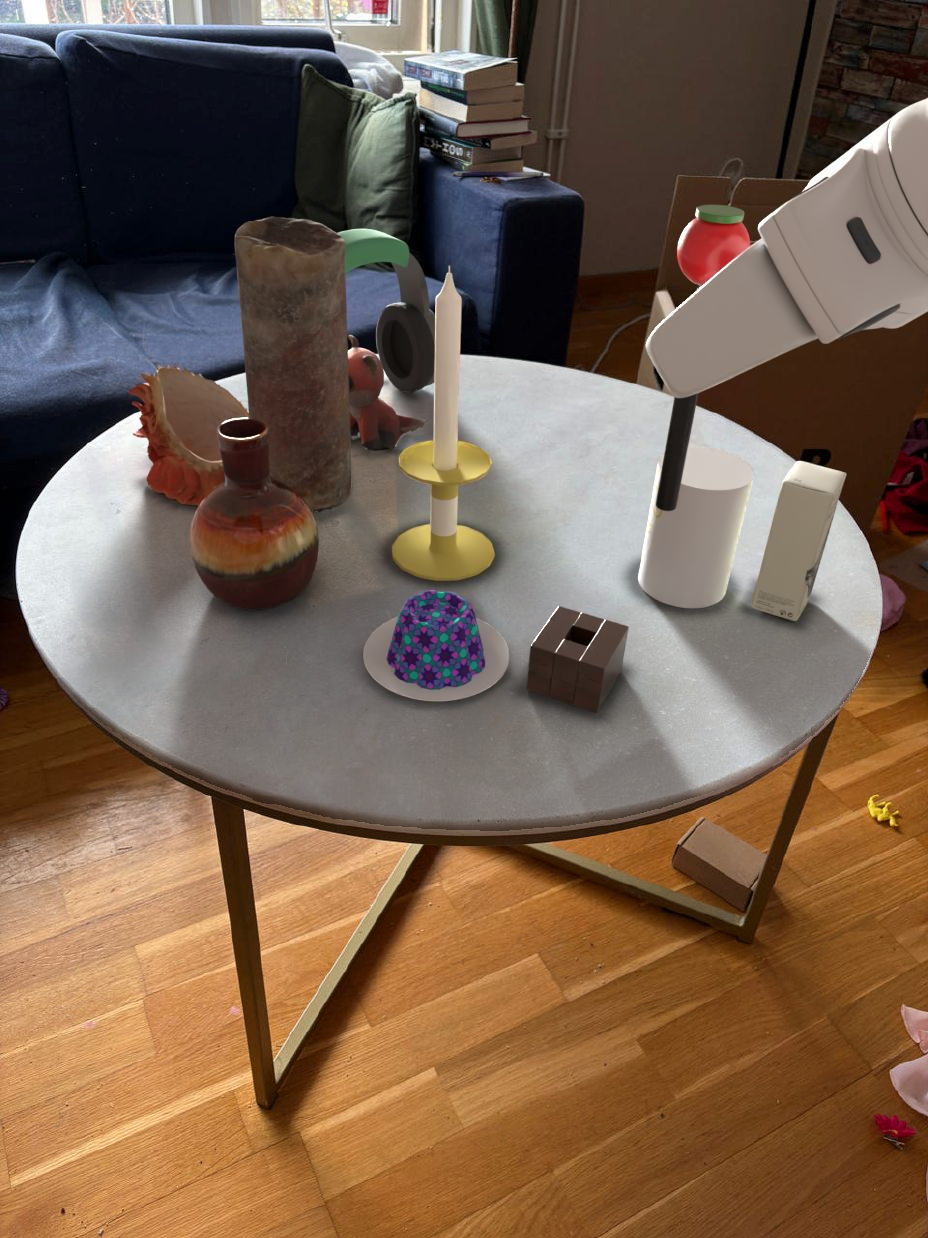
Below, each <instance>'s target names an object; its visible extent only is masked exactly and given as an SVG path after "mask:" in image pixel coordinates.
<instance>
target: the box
mask: <svg viewBox="0 0 928 1238" xmlns="http://www.w3.org/2000/svg"><path fill="white" fill-rule="evenodd" d="M846 477H847V473H846V472H843V471H841V470H836V469H833V468H829V467H825V466H822V465H818V464H814V463H811V462H807V461H803V460H797V461H796V462H795V463H794V464H793V466H792V467H791V468H790V470H789V471H788V473H787V474H786V476H785V477H784V479H783V481H782V482H781V486H780V491H779V494H778V497H777V501H776V505H775V509H774V513H773V517H772V520H771V525H770V530H769V533H768V536H767V541H766V545H765V549H764V553H763V557H762V559H761V560H762V561H761V565H760V569H759V571H758V576H757V580H756V585H755V588H754V592H753V594H752V595H753V596H752V599H751V602H750V608H752V609H754V610H758V611H760V612H763V613H767V614H769V615H773V616H776V617H779V618H782V619H786V620H789V621H792V622H797V621H798V620H799V618H800V617H801V616H802V613H803V612H804V610H805V608H806V607H807V604H808V602H809V601H810V598H811V595H812V592H813V588H814V585H815V581H816V578H817V574H818V572H819V569H820V565H821V561H822V558H823V555H824V551H825V548H826V544H827V541H828V537H829V534H830V531H831V527H832V524H833V520H834V517H835V514H836V509H837V507H838V502H839V500H840V497H841V493H842V489H843V487H844V483H845V480H846Z"/></svg>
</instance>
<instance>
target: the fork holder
mask: <svg viewBox="0 0 928 1238" xmlns="http://www.w3.org/2000/svg"><path fill="white" fill-rule="evenodd" d="M629 629H630V626H629V625H625V624H622V623H619V622H615V621H612V620H608V619H605V618H602V617H598V616H595V615H592V614H588V613H585V612H580V611H578V610H575V609H572V608H567V607H564V606H561V605H557V608H556V609H555V610H554V612H553V613H552V615H551V616H550V617H549V618H548V620H547V621H546V623H545V625H543V627H542V629H541V630H540V632H539V633H538V634H537V636H536V637H535V639H534V640H533V641H532V643H531V644H530V647H529V658H528V669H527V677H526V678H527V679H526V680H527V681H526V690H527V691H529V692H533V693H536V694H539V695H542V696H544V697H548V698H551V699H553V700H556V701H560V702H562V703H565V704H568V705H572V706H574V707H578V708H579V709H580V708H581V709H583V710H586V711H590V712H593V713H594V714H598V713H599V711H600V709H601V708H602V706H603V704H604V702H605V700H606V699H607V697H608V695H609V694H610V691H611V690H612V688H613V686H614V684H615V682H616V681H617V678H618V677H619V675H620V673H621V671H622V668H623V663H624V657H625V651H626V646H627V639H628V633H629Z"/></svg>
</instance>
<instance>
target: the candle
mask: <svg viewBox="0 0 928 1238" xmlns="http://www.w3.org/2000/svg"><path fill="white" fill-rule="evenodd" d="M444 279H445V280H444V282H443V285H442V288H441V290H440V292H439V293H438V294H437V295H436V296H435V315H436V316H435V383H434V385H433V387H434V389H433V390H434V391H433V392H434V394H433V395H434V397H433V398H434V399H433V439H430V440H425V441H421V442H417V443H414V444H411V445H410V446H408V447H406V448H404V449H403V451H402V452H401V453H400V454H399V456H398V466H399V467H398V468H399V470H400V471H401V472H402V473H403V474H404V475H405V476H407V477H408V478H409V479H411V480H414V481H416V482H420V483H422V484H426V485H430V523H427V524H423V525H420V526H416V527H415V526H414V527H411V528H410V529H408V530H406V531H405V532H403V533H401V534H400V535H398V536H397V538H396V539H395V541H394V543H393V544H392V546H391V555H392V556H391V557H392V561H393V562H394V563H395V564H396V565H397V566H398V567H399V568H400V570H402V571H404V572H405V573H407V574H410V575H412V576H414V577H416V578H420V579H425V580H429V581H434V582H450V581H454V582H455V581H461V580H465V579H467V578H468V579H469V578H471V577H476V576H478V575H480V574H481V573H483V572H484V571H485V570H487V569H488V568H490V566H491V564H492V562H493V560H494V558H495V556H496V554H495V553H496V552H495V550H494V546H493V543H492V542H491V540H490V539H489V538H488V537H486V536H485V535H484V534H483V533H482V532H480V531H478V530H475V529H474V528H471V527H468V526H465V525H460V524H458V506H459V505H458V503H459V499H458V498H459V486H462V485H467V484H472V483H475V482H477V481H479V480H481V479H482V478H484V477H486V476H487V475H488V473H489V472H490V469H491V468H492V466H493V462H492V459H491V456H490V454H489V453H488V452H487V451H485V449H483V448H482V447H480V446H477V445H475V444H472V443H469V442H467V441H461V440H458V437H459V435H458V434H459V404H460V403H459V402H460V400H459V398H460V370H461V368H460V367H461V337H462V336H461V334H462V307H463V305H462V303H463V300H462V299H463V298H462V296H461V295H460V294H459V293H458V291H457V289H456V286H455V282H454V277H453V273H452V272H451V265H448V272H447V273H446V275H445V278H444Z"/></svg>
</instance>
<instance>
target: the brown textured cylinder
mask: <svg viewBox="0 0 928 1238" xmlns="http://www.w3.org/2000/svg"><path fill="white" fill-rule="evenodd" d="M338 233H339V232H336V231H334V230H332V229H331V228H329V227H328V226H326V225H324V224H323V223H320V222H317V221H313V220H311V219H305V218H300V219H298V218H293V217H287V218H286V217H281V216H278V217H277V216H269V217H266V218H262V219H255V220H253V221H247V222H244V223H243V224H242V225H240V227H238V228H237V230H236V232H235V235H234V253H235V254H234V255H235V265H236V278H237V287H238V298H239V299H238V301H239V313H240V326H241V333H242V335H241V336H242V344H243V345H242V346H243V360H244V370H245V383H246V384H245V385H246V393H247V395H246V396H247V412H248V413H249V418H251V419H257V420H260V421H262V422H264V423H265V424H266V425H267V426H268V433H269V467H270V476H271V478H273V479H276V480H278V481H280V482H282V483H284V484H286V485H288V486H289V487H290V488H292V489H293V490H295V491H296V492H297V493H298V494H299V495H300V496H301V497H302V498H303V499H304V500H305V502H306V503H307V505H308V506H309V508H310V510H311V511H312V513H313V512H316V513H321V512H323V511H328V510H332V509H335V508H337V507H339V506H341V505H343V504H344V503H345V501H347V500H348V498H349V497H350V495H351V493H352V486H353V483H352V481H353V478H352V438H351V437H352V436H351V434H350V404H349V380H348V350H349V344H348V319H347V318H348V317H347V316H348V314H347V309H348V308H347V287H346V285H347V284H346V283H347V282H346V274H345V241H344V239H343V238H342V237H341V236H340V235H339V234H338Z"/></svg>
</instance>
